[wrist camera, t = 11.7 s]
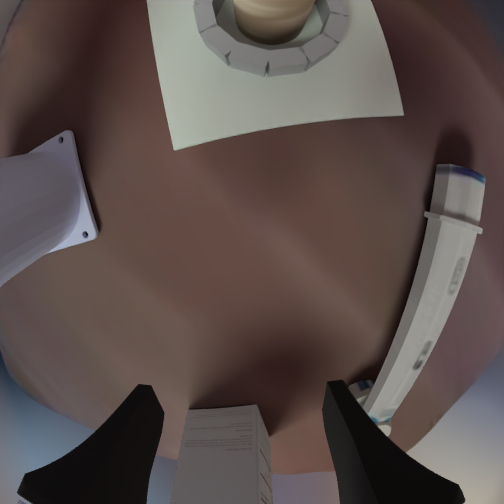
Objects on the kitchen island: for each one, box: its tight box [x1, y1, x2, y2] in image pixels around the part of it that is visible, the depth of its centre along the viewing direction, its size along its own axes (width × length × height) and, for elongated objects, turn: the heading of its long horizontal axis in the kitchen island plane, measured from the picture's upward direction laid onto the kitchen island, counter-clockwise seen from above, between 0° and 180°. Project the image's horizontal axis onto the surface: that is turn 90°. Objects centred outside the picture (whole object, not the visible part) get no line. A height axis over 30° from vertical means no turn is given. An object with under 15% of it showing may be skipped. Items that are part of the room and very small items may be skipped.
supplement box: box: [170, 404, 273, 504], centre depth 19 cm, size 7×7×13 cm
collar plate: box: [147, 0, 404, 150], centre depth 11 cm, size 14×14×3 cm
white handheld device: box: [348, 164, 486, 437], centre depth 18 cm, size 5×7×25 cm
